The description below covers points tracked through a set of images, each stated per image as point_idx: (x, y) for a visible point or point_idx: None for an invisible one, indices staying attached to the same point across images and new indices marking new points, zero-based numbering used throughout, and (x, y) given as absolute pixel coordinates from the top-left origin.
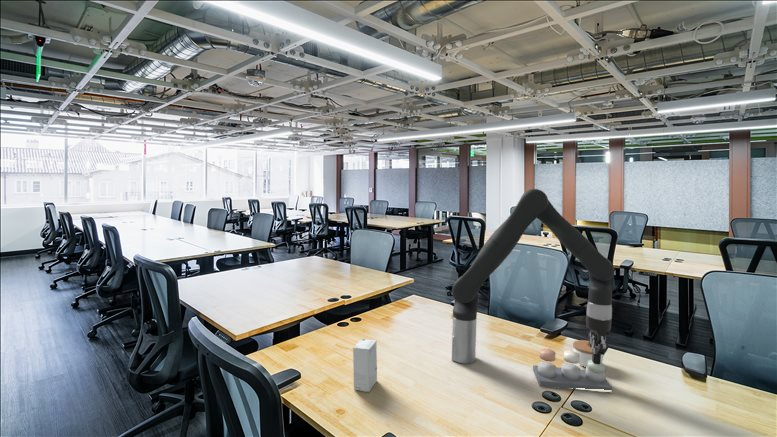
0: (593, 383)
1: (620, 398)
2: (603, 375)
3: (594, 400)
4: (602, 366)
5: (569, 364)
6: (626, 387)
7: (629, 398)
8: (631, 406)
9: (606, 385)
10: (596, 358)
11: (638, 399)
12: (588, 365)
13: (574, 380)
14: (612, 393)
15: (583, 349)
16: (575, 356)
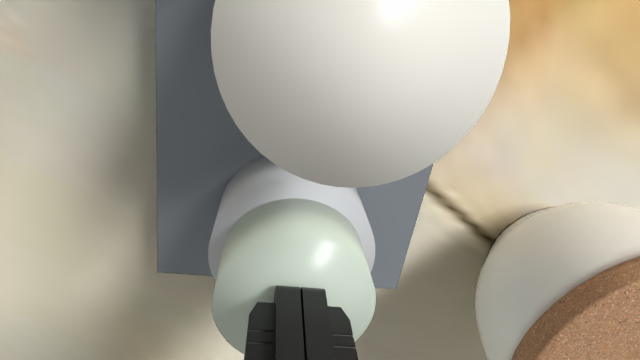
0: (199, 166)
1: (113, 266)
2: None
3: (27, 79)
4: (223, 335)
5: None
6: None
7: (127, 312)
8: (27, 284)
9: (183, 247)
10: (245, 356)
11: (128, 348)
12: (291, 221)
13: None
14: None
15: (602, 312)
16: (235, 72)
